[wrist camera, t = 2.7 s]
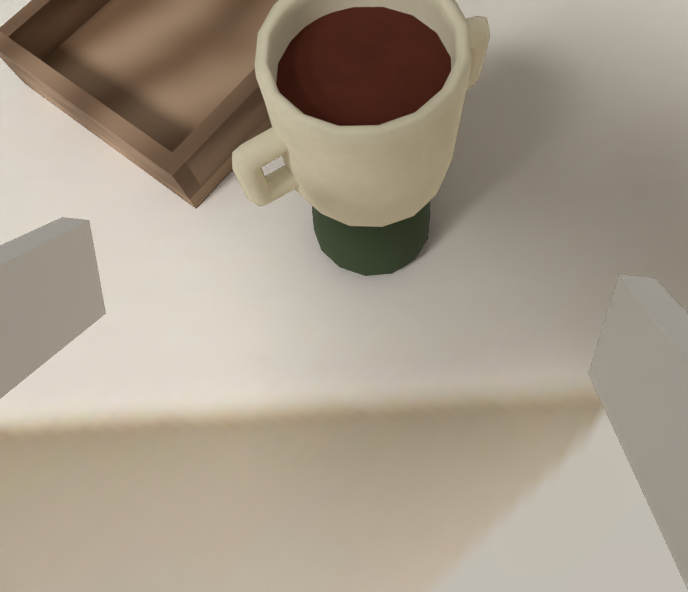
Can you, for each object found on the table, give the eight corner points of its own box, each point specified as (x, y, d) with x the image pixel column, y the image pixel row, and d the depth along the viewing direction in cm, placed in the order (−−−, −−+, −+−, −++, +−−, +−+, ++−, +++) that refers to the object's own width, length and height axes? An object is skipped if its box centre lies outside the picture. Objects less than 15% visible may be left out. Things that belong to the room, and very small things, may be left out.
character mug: (417, 135, 30) (438, -93, 18) (491, 226, 28) (572, 35, 16) (256, 228, 29) (162, 51, 17) (320, 331, 27) (265, 211, 15)
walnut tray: (23, 82, 34) (-16, 40, 31) (188, -66, 37) (169, -118, 34) (195, 208, 30) (172, 175, 27) (363, 28, 33) (360, -20, 30)
